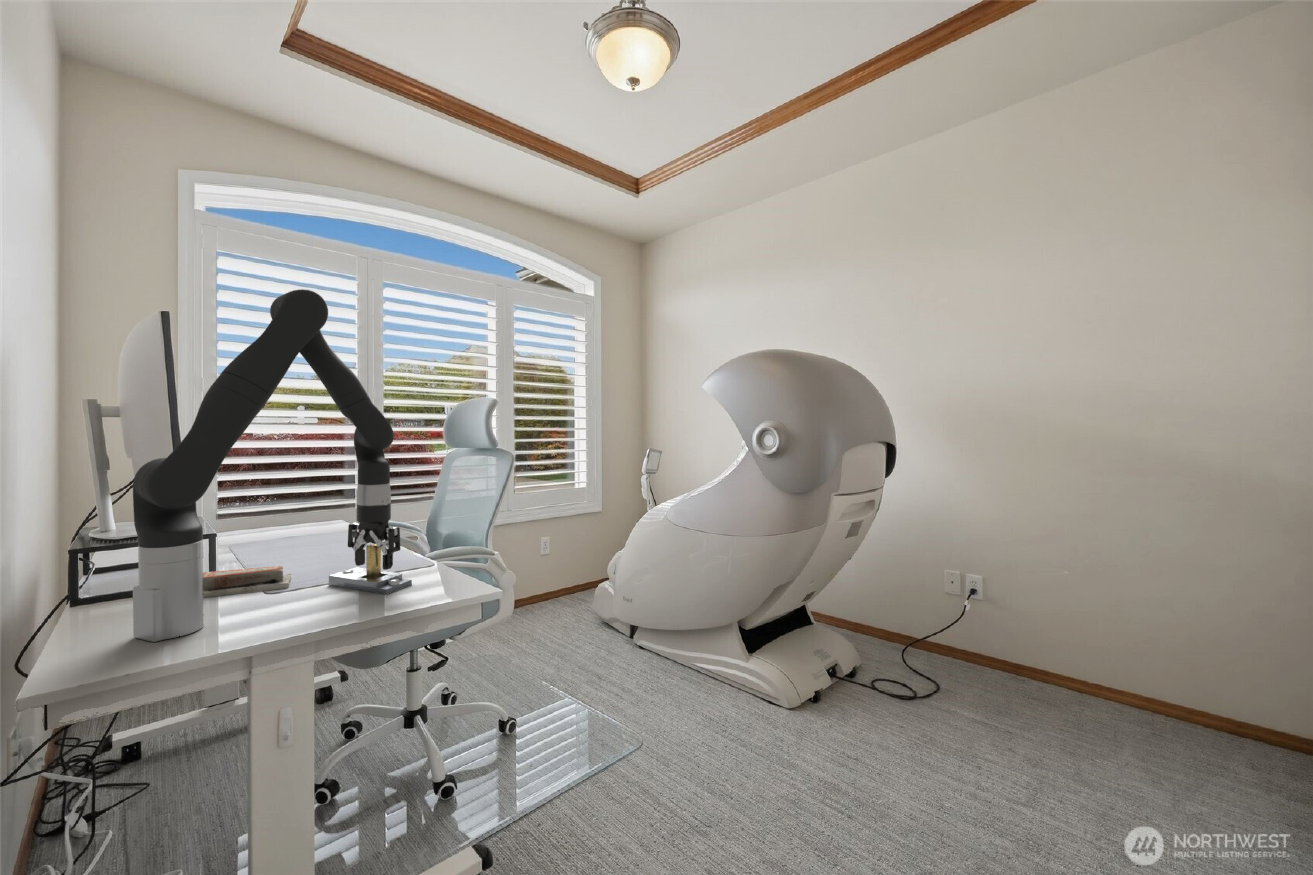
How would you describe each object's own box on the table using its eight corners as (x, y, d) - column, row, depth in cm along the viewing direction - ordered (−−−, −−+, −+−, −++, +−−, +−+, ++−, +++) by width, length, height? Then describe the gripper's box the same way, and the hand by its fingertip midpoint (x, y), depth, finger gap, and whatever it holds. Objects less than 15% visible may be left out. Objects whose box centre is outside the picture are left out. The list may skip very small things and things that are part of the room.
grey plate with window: (386, 594, 128) (386, 583, 128) (328, 585, 134) (328, 574, 134) (411, 584, 136) (411, 574, 136) (356, 576, 142) (356, 566, 142)
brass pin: (373, 588, 133) (373, 547, 132) (363, 586, 134) (363, 546, 133) (383, 584, 136) (384, 544, 135) (373, 582, 137) (374, 543, 136)
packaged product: (192, 579, 122) (201, 568, 131) (192, 601, 123) (202, 588, 131) (288, 569, 132) (291, 560, 140) (288, 589, 132) (291, 578, 140)
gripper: (338, 501, 133) (338, 567, 133) (384, 506, 128) (384, 574, 129) (364, 497, 140) (364, 560, 140) (408, 501, 135) (408, 566, 136)
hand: (373, 566), depth 135 cm, fingers open, 8 cm apart
